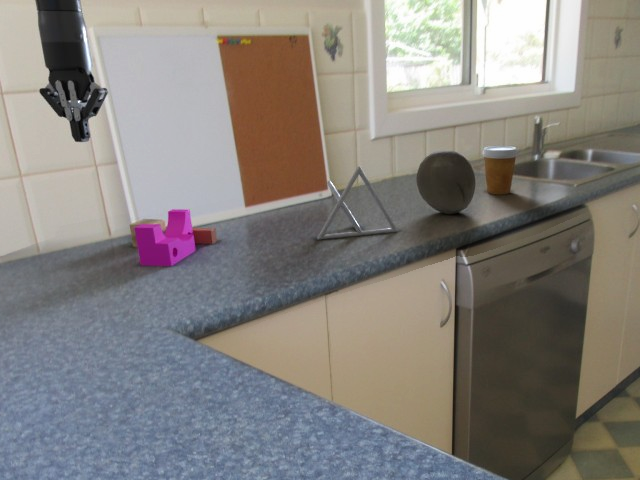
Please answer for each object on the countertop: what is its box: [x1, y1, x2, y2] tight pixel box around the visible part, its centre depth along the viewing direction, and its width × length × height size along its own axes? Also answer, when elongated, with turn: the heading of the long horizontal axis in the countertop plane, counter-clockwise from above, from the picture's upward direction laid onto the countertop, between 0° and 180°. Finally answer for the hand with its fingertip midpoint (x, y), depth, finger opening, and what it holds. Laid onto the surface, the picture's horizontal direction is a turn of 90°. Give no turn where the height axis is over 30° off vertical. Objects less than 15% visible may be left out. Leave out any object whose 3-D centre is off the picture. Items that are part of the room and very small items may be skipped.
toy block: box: [135, 208, 197, 267], centre depth 131 cm, size 15×6×8 cm, turn 171°
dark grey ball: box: [415, 150, 476, 215], centre depth 158 cm, size 14×14×15 cm
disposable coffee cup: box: [482, 145, 519, 195], centre depth 181 cm, size 10×10×12 cm
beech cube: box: [129, 218, 167, 248], centre depth 138 cm, size 5×5×5 cm
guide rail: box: [165, 225, 218, 245], centre depth 141 cm, size 16×2×3 cm, turn 76°
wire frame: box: [316, 165, 399, 241], centre depth 145 cm, size 18×13×16 cm
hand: (82, 141), depth 122 cm, fingers closed
